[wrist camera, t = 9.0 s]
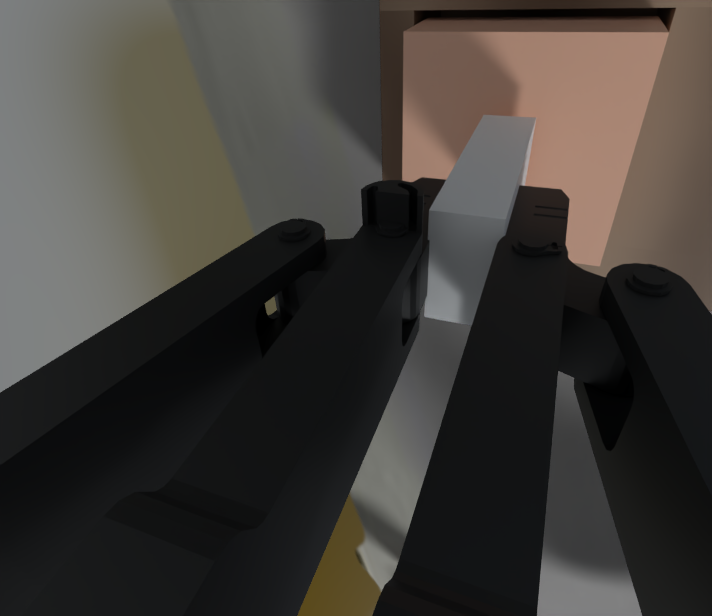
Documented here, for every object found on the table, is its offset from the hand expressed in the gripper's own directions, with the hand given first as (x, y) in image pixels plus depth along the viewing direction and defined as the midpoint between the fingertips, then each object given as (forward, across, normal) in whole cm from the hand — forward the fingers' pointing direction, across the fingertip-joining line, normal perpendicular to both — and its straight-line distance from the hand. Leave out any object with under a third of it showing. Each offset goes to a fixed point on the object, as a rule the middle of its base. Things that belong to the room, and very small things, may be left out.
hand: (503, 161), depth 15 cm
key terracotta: (+4, 0, 0) cm, 4 cm away
